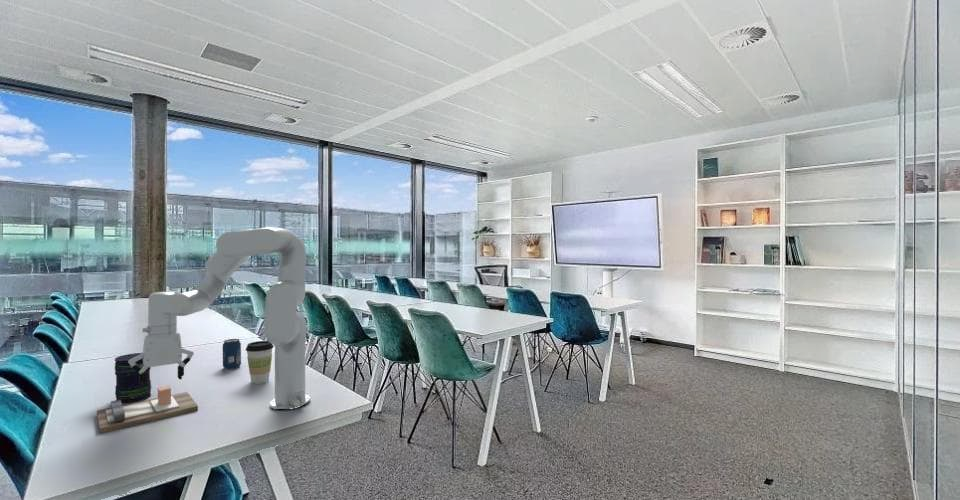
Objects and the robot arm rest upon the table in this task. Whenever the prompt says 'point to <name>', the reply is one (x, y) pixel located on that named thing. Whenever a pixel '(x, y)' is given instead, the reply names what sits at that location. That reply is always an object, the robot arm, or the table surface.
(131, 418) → the board
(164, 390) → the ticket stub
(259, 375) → the coffee cup
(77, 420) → the table surface
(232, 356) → the soda can
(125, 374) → the storage jar
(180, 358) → the robot arm
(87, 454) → the table surface
